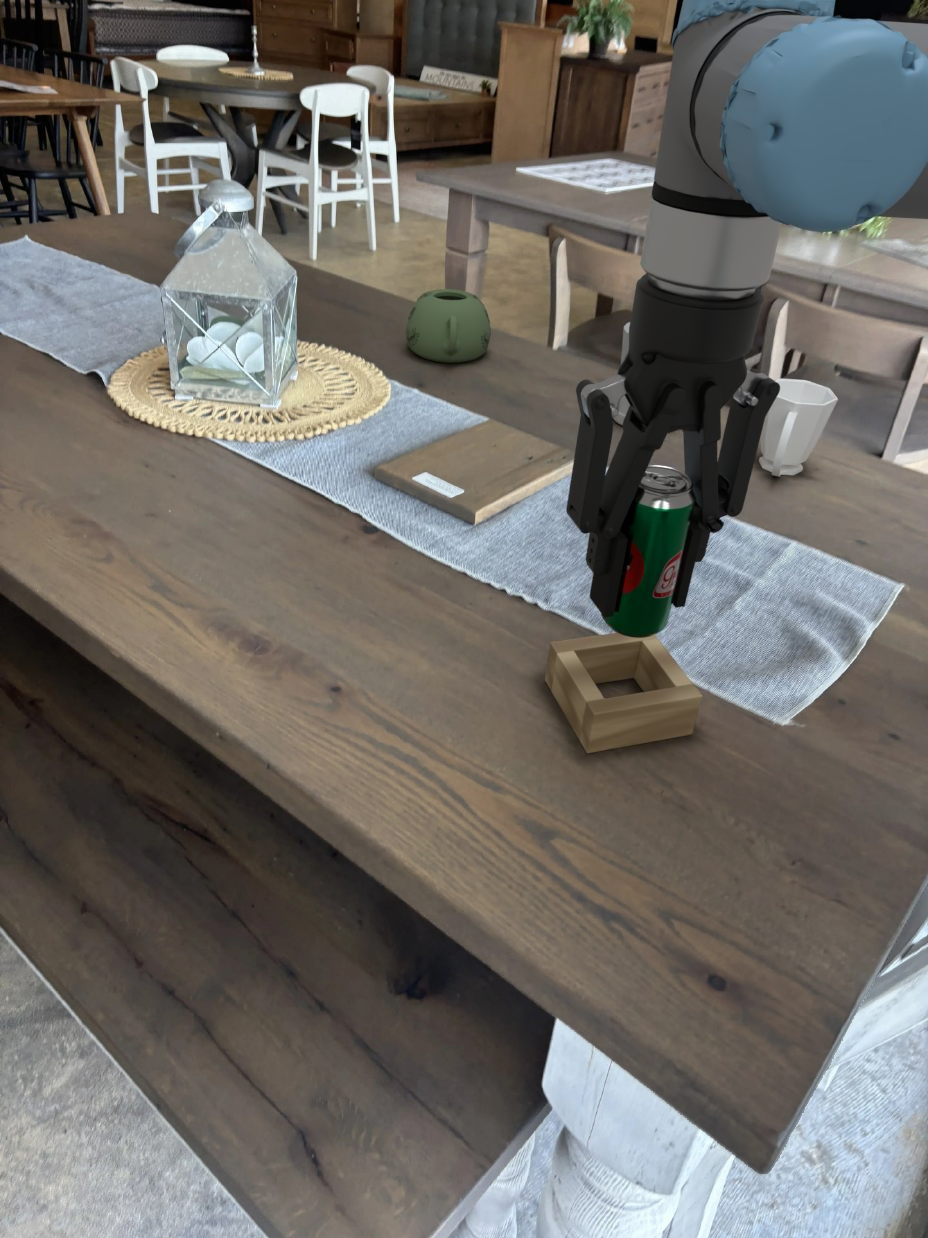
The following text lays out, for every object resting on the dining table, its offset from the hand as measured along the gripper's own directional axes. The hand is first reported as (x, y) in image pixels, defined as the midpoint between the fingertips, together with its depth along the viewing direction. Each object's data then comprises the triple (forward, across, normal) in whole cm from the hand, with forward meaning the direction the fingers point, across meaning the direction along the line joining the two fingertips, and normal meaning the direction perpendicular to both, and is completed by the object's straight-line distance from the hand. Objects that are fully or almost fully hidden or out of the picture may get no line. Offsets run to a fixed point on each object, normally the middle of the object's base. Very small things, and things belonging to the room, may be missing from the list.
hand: (637, 601), depth 67 cm
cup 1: (+11, -29, -53) cm, 62 cm away
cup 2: (+11, -38, -35) cm, 53 cm away
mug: (+11, -9, -80) cm, 82 cm away
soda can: (+2, 0, 0) cm, 2 cm away
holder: (+10, 0, 0) cm, 10 cm away
